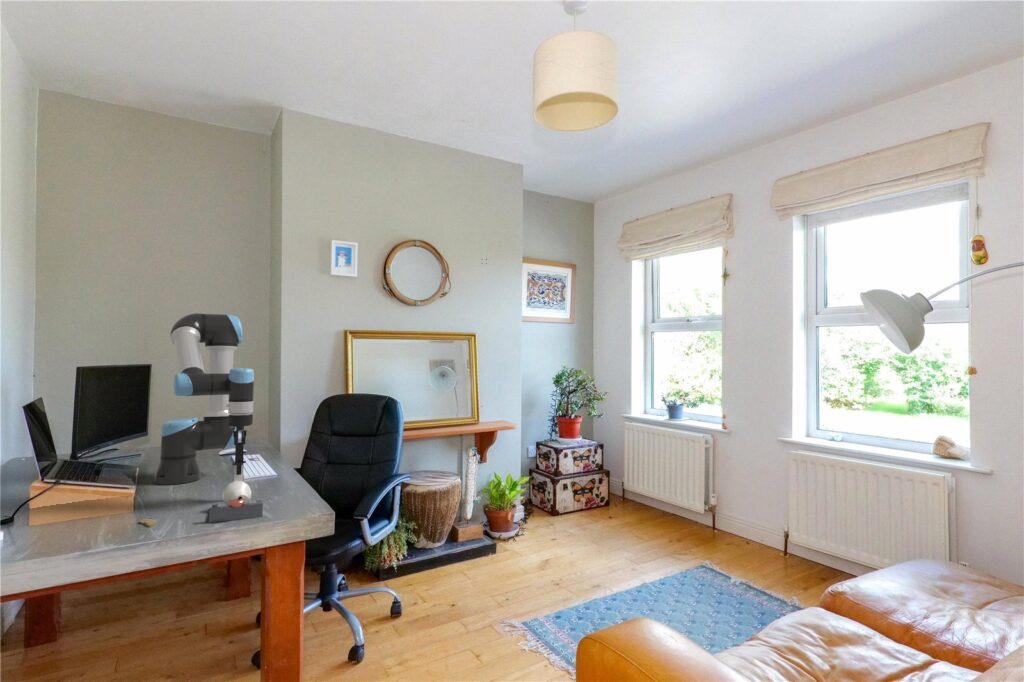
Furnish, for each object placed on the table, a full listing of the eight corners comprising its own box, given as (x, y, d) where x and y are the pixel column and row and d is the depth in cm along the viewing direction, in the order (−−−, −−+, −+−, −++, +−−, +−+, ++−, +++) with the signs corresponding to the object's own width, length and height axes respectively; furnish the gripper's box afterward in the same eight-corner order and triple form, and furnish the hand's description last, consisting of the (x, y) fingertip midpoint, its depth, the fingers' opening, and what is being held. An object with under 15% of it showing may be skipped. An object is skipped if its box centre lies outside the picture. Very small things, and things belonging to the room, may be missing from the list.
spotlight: (252, 500, 169) (247, 477, 168) (257, 511, 160) (253, 486, 159) (224, 508, 164) (220, 484, 164) (228, 520, 155) (223, 494, 154)
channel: (212, 508, 164) (213, 490, 164) (261, 503, 170) (261, 486, 170) (208, 524, 150) (209, 504, 150) (262, 518, 156) (263, 499, 156)
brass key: (139, 522, 150) (139, 519, 150) (150, 520, 152) (150, 517, 152) (147, 527, 146) (147, 524, 146) (158, 525, 148) (159, 522, 148)
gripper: (228, 412, 179) (226, 480, 178) (227, 416, 167) (225, 489, 167) (252, 411, 182) (250, 478, 182) (253, 415, 171) (251, 487, 170)
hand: (238, 483), depth 174 cm, fingers closed
